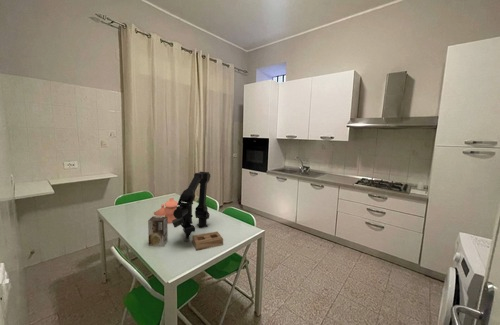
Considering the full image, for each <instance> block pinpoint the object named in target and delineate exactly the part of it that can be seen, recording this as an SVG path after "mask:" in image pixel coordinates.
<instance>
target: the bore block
mask: <svg viewBox="0 0 500 325" xmlns="http://www.w3.org/2000/svg"><path fill="white" fill-rule="evenodd" d="M191 238H192V240H191V241H192V244H193V245H194V248H195V251H201V250H207V249H210V248H211V249H212V248H216V247H220V246H223V245H224V238H223V236H222V235H221V234H220V233H219V232H218V231H211V232H206V233H201V234H195V235H192V237H191Z"/></svg>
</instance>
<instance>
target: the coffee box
mask: <svg viewBox="0 0 500 325" xmlns="http://www.w3.org/2000/svg"><path fill="white" fill-rule="evenodd" d="M147 225H148V226H147V228H148V233H147V234H148V247H165V245H166V244H167V243H168V236H169V235H168V234H169V233H168V231H169V230H168V223H167V217H165V216H156V215H154V216H153V215H152V217H151V216H150V218H149V219H148V220H147Z"/></svg>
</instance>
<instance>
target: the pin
mask: <svg viewBox="0 0 500 325" xmlns="http://www.w3.org/2000/svg"><path fill="white" fill-rule="evenodd" d="M183 233H184V232H183ZM183 235H184V236H183V241H184V242H185V243H188V242H190V237H189V238H188V239H186V234H185V233H184V234H183Z"/></svg>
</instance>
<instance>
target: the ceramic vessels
mask: <svg viewBox="0 0 500 325" xmlns="http://www.w3.org/2000/svg"><path fill="white" fill-rule="evenodd" d="M177 204H178V201H176V200H174V198H173V197H170V198H169V199H168V200H167V201H166V202H164V204H161V206H160V207H161V208H159V209H158V210H156V211H154V212H153V215H154V216H161V217H167V224H173V223H172V220H174V219H176V218H175V217H174V215H173V213H174V211H175V210H176V209H177V207H178V205H177Z"/></svg>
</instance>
